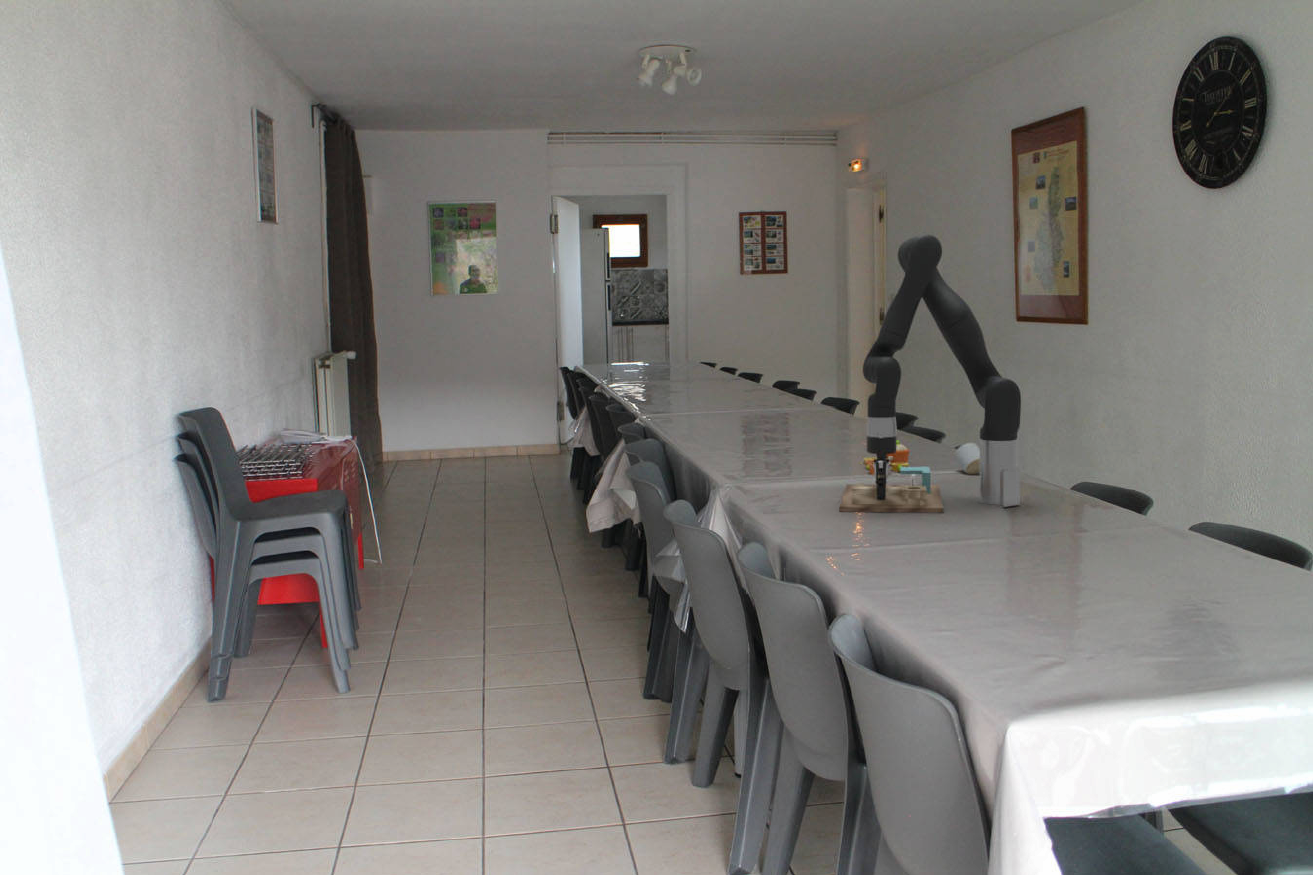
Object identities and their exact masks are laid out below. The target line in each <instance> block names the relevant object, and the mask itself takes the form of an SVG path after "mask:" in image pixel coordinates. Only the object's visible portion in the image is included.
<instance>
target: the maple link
mask: <svg viewBox="0 0 1313 875" xmlns="http://www.w3.org/2000/svg"><path fill="white" fill-rule="evenodd" d="M852 504H877V505H902V506H926V486H902V487H886V499H885V500H877V487H865V486H853V488H852Z"/></svg>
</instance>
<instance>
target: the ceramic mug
mask: <svg viewBox="0 0 1313 875" xmlns="http://www.w3.org/2000/svg"><path fill="white" fill-rule="evenodd" d="M954 457H955V460H956V461H957V462H958V464H959V466H960V467H961V468H962V470H963V471H964V473H966V474H967V475H980V446H978V444H976V443H974V442H967V443H964V444H963V445H961V446H959V447H958V448H957V450H956V451H955V453H954Z"/></svg>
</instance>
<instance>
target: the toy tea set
mask: <svg viewBox="0 0 1313 875" xmlns="http://www.w3.org/2000/svg"><path fill="white" fill-rule="evenodd" d="M909 458H910V449H909V448H908V447H906V446H905V445H903V444H901V443H900V440H897V451H896V452H895V453H892V454H887V459H889V466H891V469H892V472H894V471H897V472H896V473H900V467H911V464H910V463H909ZM874 459H877V457H864V458H863V462H859V463H860V464H861V465H862V463H863V465H865V468H866V469H867V470H868V471H869V474H870V475H872V474H873V476H874V469H875V468H874Z"/></svg>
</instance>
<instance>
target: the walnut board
mask: <svg viewBox="0 0 1313 875" xmlns="http://www.w3.org/2000/svg"><path fill="white" fill-rule="evenodd" d="M853 486H865V487H877V485H876V484H846V486H845V490H844V493H843V496H842V498H841V500H840V501H841V502H840V504H839V512H847V513H848V512H850V513H851V512H853V513H854V512H855V513H856V512H858V513H860V512H862V513H863V512H865V513H921V514H922V513H923V514H925V513H930V514H934V513H935V514H943V513H944V506H943V505H944V504H943V501H942V495H941V490H940V485H938V484H937V485H936V484H935V485H934V484H930V493H926V506H902V505H877V504H852V488H853ZM902 486H911V484H886V487H902ZM917 486H922V484H917Z"/></svg>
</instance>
